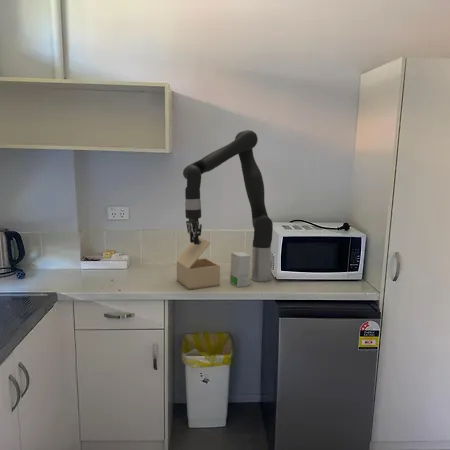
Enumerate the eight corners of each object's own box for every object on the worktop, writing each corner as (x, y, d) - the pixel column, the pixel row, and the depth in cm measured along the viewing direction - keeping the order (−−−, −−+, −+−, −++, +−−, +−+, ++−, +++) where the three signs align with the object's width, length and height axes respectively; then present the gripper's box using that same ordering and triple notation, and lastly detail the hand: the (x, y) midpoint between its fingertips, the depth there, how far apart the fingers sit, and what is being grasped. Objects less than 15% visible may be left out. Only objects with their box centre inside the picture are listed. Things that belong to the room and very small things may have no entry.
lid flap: (197, 236, 206) (190, 230, 204) (210, 243, 192) (203, 236, 190) (176, 261, 203) (169, 254, 201) (189, 269, 189) (181, 262, 187)
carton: (205, 276, 212) (206, 258, 211) (219, 285, 198) (220, 265, 197) (176, 280, 205) (176, 261, 203) (189, 289, 191) (189, 269, 189)
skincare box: (229, 282, 203) (230, 252, 201) (241, 281, 206) (242, 251, 204) (238, 287, 196) (238, 255, 193) (249, 285, 199) (250, 254, 196)
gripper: (206, 209, 190) (207, 245, 193) (194, 205, 202) (195, 239, 205) (191, 210, 186) (193, 247, 189) (180, 207, 199) (181, 241, 202)
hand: (194, 243), depth 197 cm, fingers closed on lid flap, 4 cm apart
